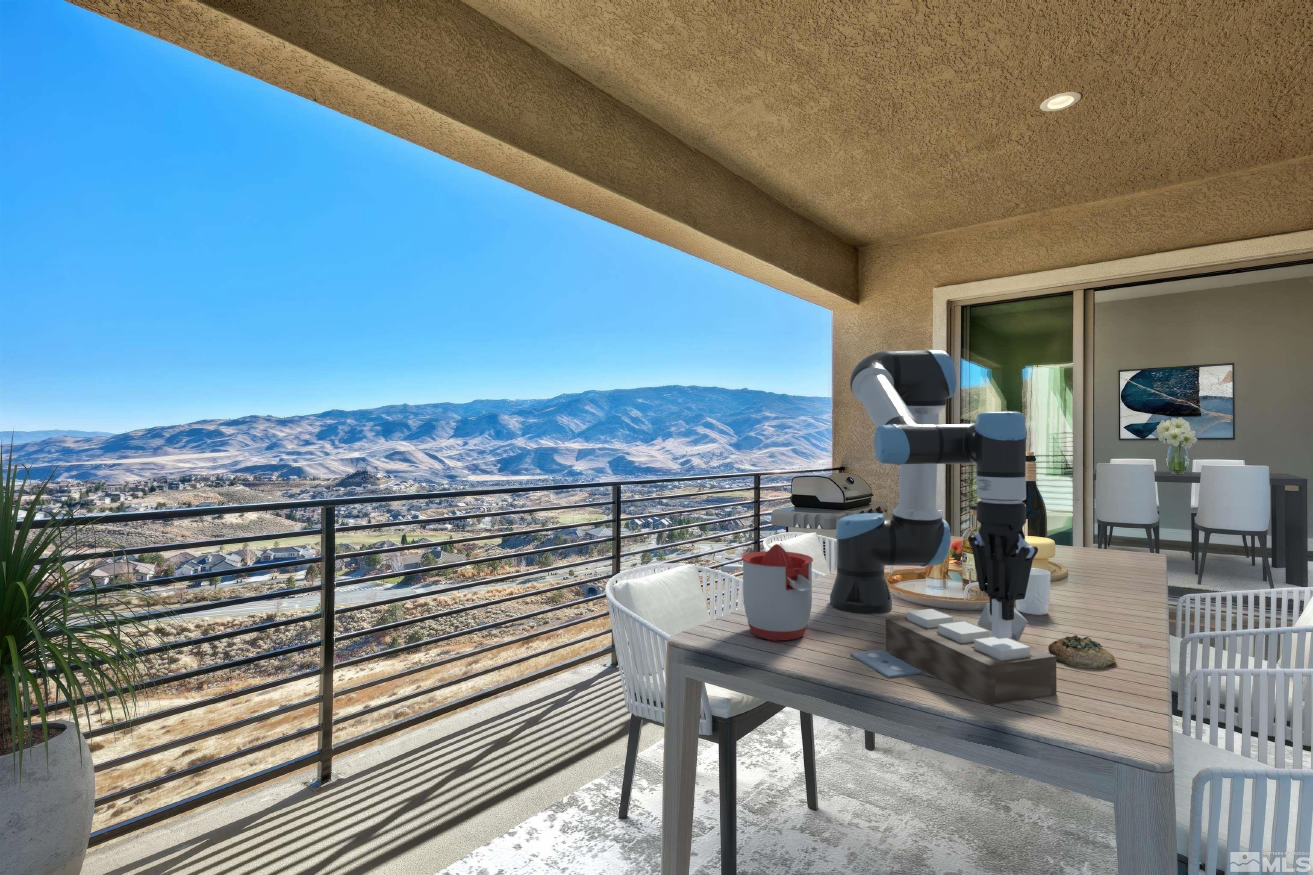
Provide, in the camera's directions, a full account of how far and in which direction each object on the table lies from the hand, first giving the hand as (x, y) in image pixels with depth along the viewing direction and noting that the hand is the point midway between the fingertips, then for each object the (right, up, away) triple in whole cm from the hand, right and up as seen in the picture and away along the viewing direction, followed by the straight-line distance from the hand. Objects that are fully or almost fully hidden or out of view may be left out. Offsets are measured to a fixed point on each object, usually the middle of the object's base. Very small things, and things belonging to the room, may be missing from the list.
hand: (1001, 636), depth 109 cm
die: (+14, -9, +25) cm, 30 cm away
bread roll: (+23, -9, +14) cm, 29 cm away
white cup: (+33, -9, +46) cm, 57 cm away
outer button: (0, -4, 0) cm, 4 cm away
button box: (-2, -9, +9) cm, 13 cm away
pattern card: (-16, -9, +12) cm, 22 cm away
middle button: (-2, -4, +9) cm, 10 cm away
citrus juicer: (-32, -9, +30) cm, 45 cm away
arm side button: (-5, -4, +17) cm, 19 cm away
